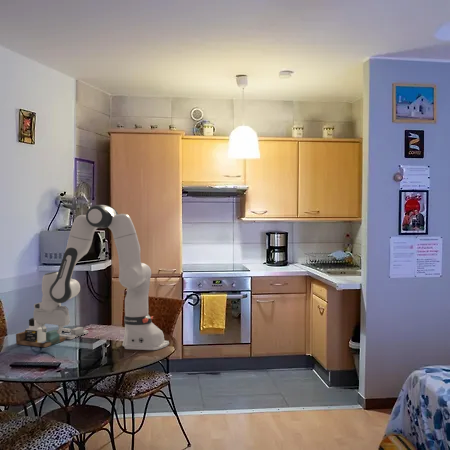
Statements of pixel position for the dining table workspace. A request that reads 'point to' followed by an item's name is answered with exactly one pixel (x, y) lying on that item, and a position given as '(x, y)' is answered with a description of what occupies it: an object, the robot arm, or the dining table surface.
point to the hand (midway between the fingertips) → (51, 332)
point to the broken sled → (74, 332)
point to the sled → (50, 339)
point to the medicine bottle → (34, 332)
